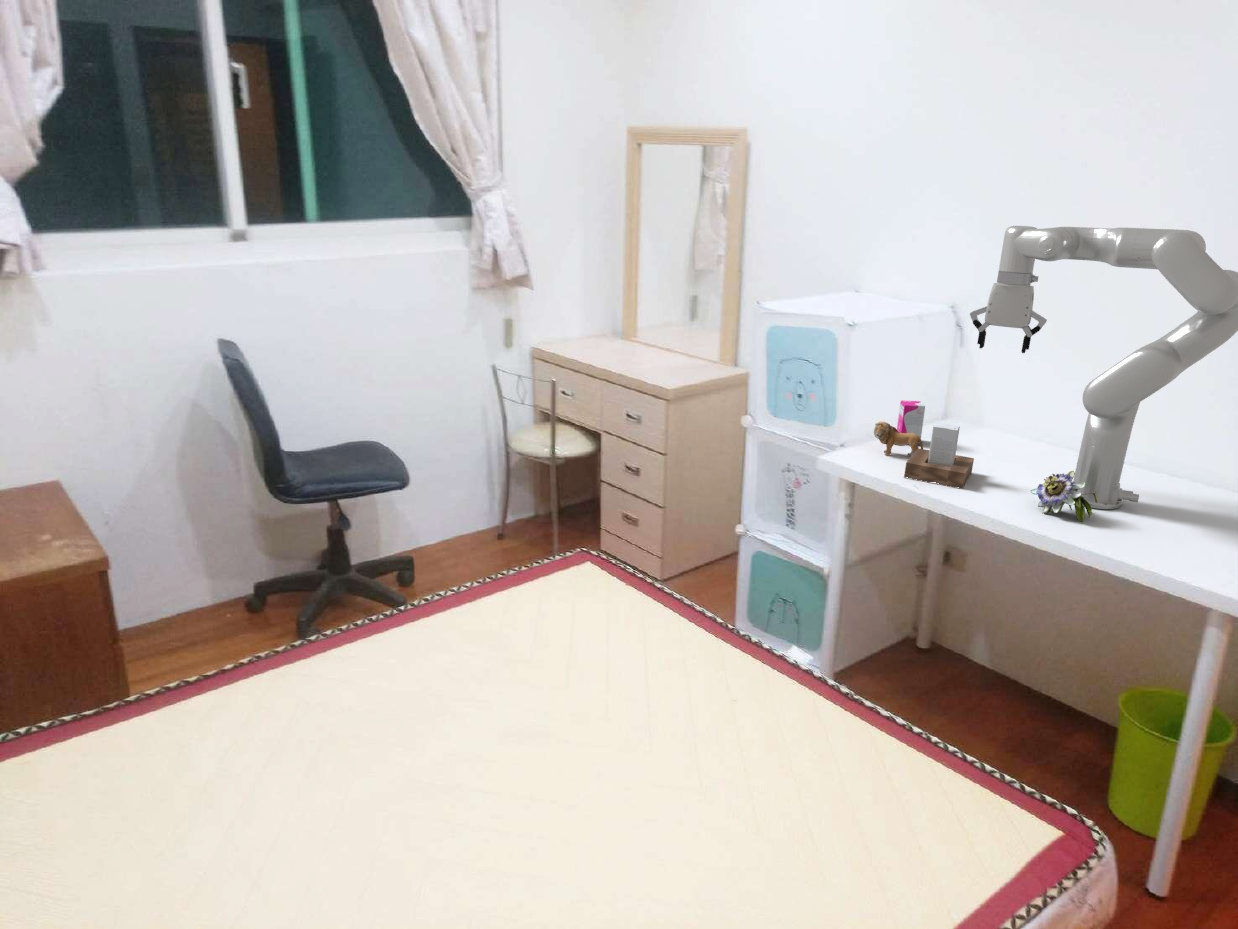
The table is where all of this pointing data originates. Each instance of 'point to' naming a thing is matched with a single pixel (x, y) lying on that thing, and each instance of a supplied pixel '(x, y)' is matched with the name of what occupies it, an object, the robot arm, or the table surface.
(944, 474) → the holder block
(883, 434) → the lion figurine
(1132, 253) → the robot arm
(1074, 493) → the passion flower
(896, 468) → the table surface
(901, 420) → the supplement box
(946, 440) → the skincare box
